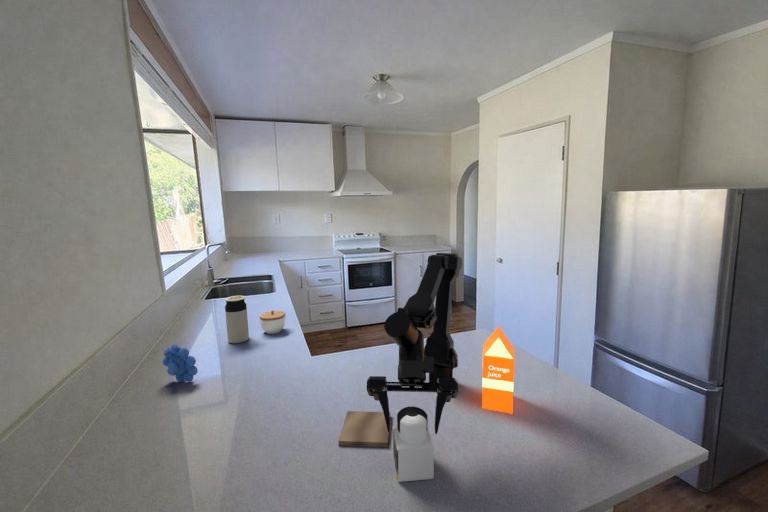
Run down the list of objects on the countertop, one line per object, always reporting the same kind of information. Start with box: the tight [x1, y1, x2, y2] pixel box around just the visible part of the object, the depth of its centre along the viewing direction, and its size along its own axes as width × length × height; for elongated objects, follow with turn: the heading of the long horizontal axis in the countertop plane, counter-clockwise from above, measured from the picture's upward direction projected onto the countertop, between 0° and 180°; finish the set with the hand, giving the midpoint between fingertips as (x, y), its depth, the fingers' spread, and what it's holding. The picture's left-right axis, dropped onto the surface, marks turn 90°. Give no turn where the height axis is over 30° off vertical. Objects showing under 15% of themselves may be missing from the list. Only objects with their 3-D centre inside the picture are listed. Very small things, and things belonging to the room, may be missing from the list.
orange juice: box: [481, 325, 515, 414], centre depth 87 cm, size 8×9×20 cm
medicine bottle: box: [392, 406, 435, 483], centre depth 66 cm, size 7×7×12 cm
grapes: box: [162, 344, 198, 383], centre depth 101 cm, size 12×7×12 cm, turn 79°
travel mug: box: [224, 295, 250, 344], centre depth 134 cm, size 8×8×18 cm
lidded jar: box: [259, 310, 286, 335], centre depth 144 cm, size 11×11×9 cm
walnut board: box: [338, 410, 391, 448], centre depth 78 cm, size 11×11×1 cm
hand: (412, 432), depth 64 cm, fingers open, 9 cm apart
